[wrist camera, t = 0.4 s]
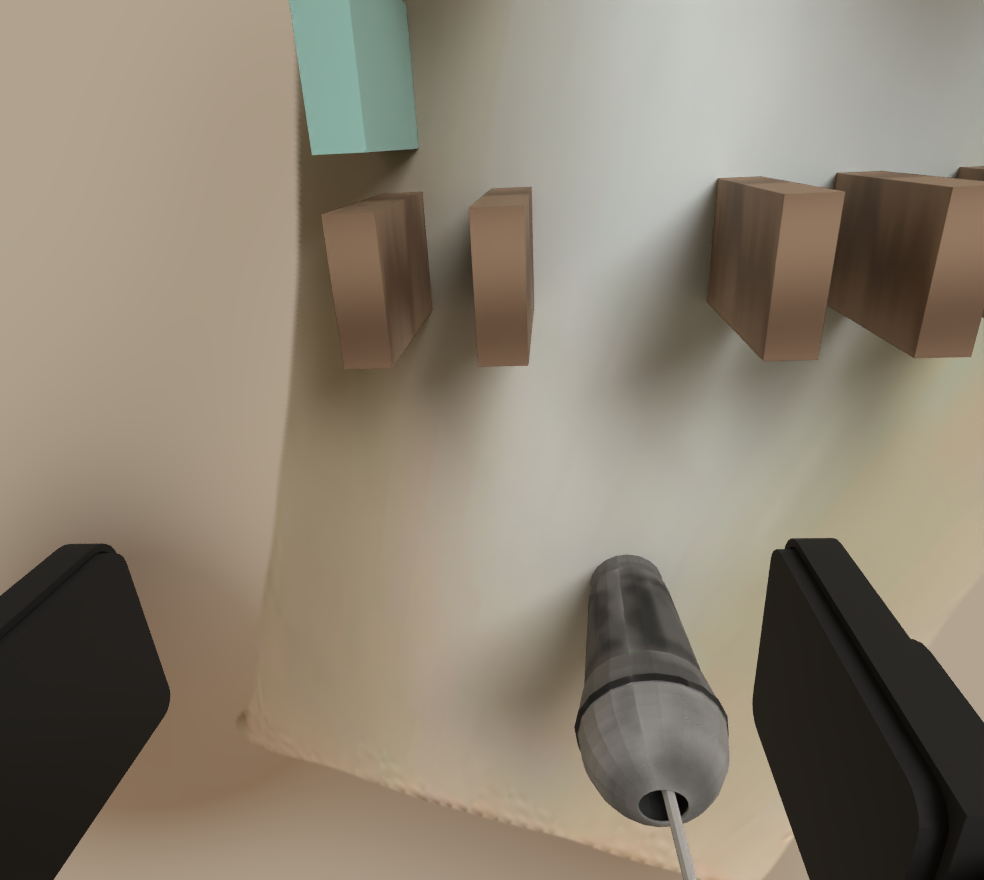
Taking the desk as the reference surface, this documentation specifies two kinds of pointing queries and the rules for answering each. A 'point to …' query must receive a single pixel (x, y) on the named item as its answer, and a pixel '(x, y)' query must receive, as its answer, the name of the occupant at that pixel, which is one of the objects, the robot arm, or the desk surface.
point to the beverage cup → (648, 706)
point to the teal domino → (355, 75)
